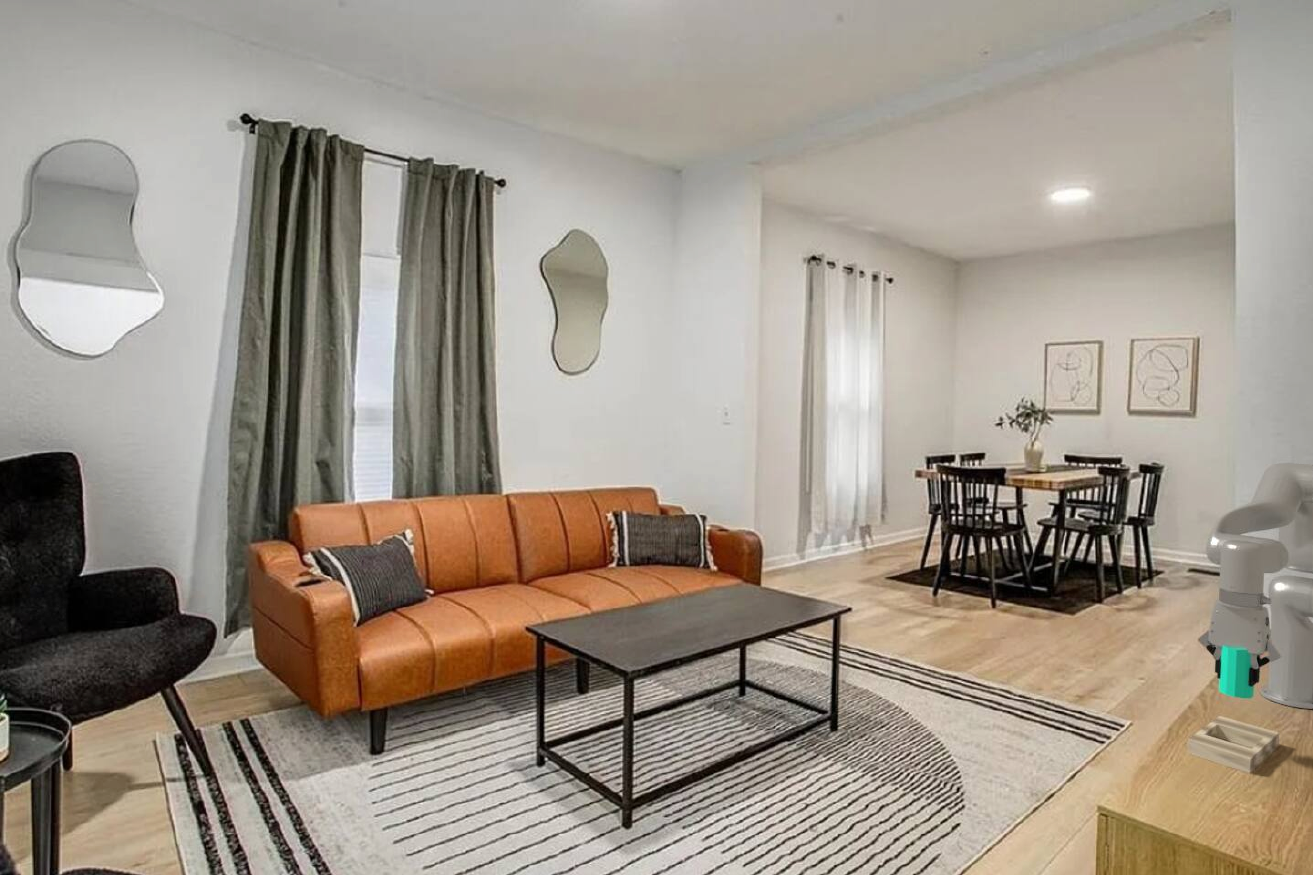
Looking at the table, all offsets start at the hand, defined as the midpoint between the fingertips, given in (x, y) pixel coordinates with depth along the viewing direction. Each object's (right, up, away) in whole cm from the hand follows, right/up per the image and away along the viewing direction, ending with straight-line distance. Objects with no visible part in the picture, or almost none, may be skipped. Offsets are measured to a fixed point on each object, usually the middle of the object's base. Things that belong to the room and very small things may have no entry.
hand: (1236, 680), depth 164 cm
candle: (0, -3, 0) cm, 3 cm away
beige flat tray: (0, -15, +1) cm, 15 cm away
